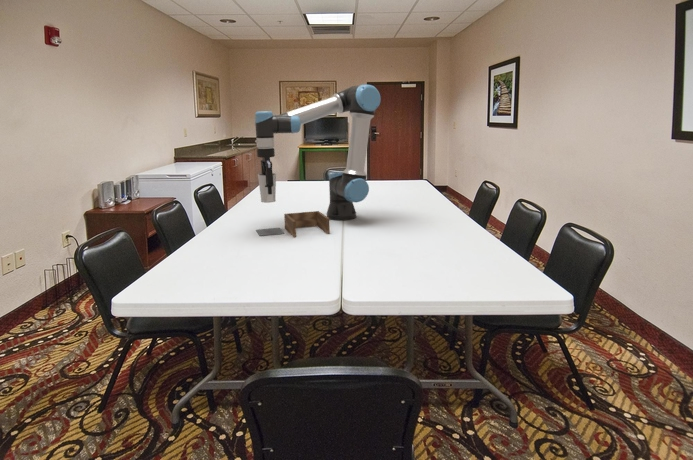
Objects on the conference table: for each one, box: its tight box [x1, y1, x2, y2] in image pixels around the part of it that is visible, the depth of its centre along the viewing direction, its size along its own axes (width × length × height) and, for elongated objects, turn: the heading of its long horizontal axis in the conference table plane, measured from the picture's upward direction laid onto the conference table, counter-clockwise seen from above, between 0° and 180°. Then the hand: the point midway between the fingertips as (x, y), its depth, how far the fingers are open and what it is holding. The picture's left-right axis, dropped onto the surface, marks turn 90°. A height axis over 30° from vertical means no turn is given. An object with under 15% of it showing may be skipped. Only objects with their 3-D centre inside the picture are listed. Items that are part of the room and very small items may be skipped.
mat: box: [255, 227, 285, 237], centre depth 215 cm, size 11×11×1 cm
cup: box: [257, 172, 277, 204], centre depth 210 cm, size 8×8×12 cm
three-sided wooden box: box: [283, 210, 331, 238], centre depth 215 cm, size 16×17×7 cm
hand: (268, 199), depth 211 cm, fingers closed on cup, 7 cm apart
